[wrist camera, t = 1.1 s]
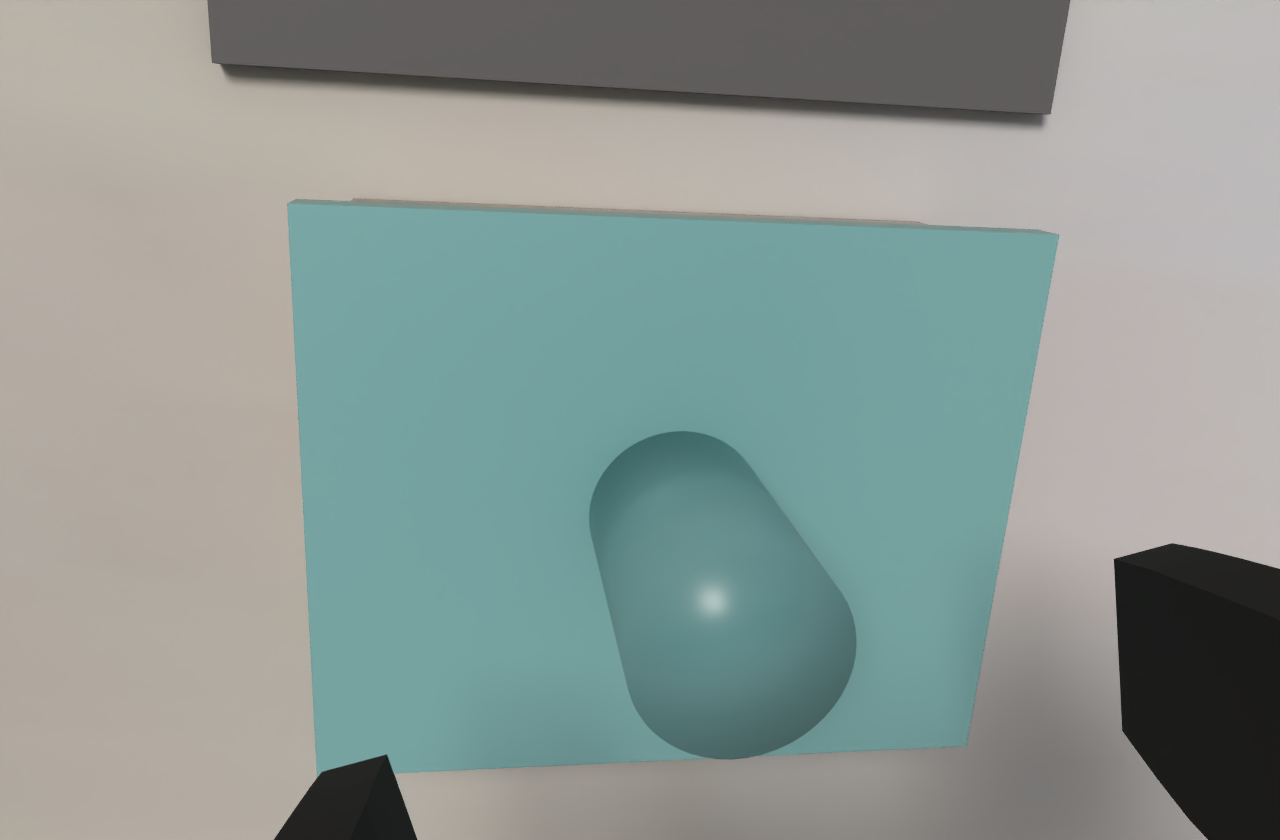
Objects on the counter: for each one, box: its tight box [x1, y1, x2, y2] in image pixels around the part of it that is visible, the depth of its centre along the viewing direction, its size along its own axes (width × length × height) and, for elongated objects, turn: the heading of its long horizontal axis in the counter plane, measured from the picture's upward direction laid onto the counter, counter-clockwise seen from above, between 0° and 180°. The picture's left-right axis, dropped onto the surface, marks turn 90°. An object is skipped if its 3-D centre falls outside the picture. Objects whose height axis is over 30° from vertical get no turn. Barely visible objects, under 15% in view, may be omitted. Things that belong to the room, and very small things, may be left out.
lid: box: [287, 199, 1059, 777], centre depth 13 cm, size 11×9×5 cm
